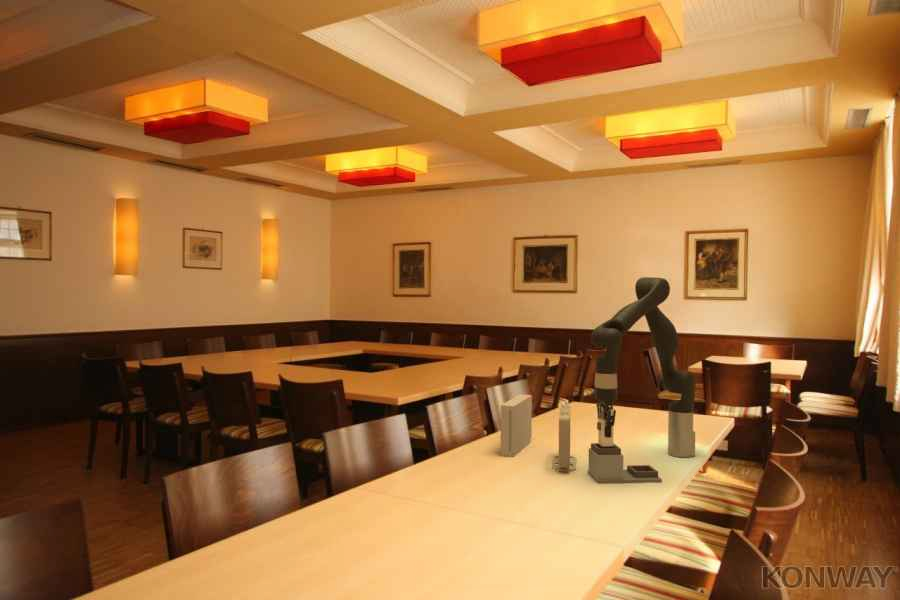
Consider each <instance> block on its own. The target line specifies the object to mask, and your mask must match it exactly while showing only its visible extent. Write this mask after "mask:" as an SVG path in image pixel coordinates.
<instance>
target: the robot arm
mask: <svg viewBox="0 0 900 600" xmlns="http://www.w3.org/2000/svg"><path fill="white" fill-rule="evenodd" d="M634 288H635V289H634V290H635V295H636V298H637V300H635V301H633V302H632V303H629V304H627V305H625V306H624V307H622V308H620V309H619V310H618V311H617V312H616V313H615V314H614V315H613V316H612V317H611V318H610V319H608V320H606V321H604V322H603V323H601V324H599V325H598V326H596V327H595V328H594V329H593V331H592V332H591V336H590V342H591V344H592V345H593V346H594V347H595V348H598V349H605V352H604V354H602V355H598V356H596V359H595V377H594V399H595V400H597V401H599V402H596V408H597V410H596V411H597V419H598V418H603V420H604V425H605V437H606V438H610V437H611V428H612V427H611V426H614V427H615V420H616V414H617V413H616V412H617V411H616V409H614V405H613V402H615V401H617V400H618V373H617V370H618V368H617V366H618V364H617V363H618V360H619V359H618V358H619V355H620V351H621V348H622V344H623V336H622V335H625V334H626V333H627V332H628V331H629V330H631V329H632V327H633V326H634V325H635V324H636V323H637V322H638V321H639V320H641V318H643V317H644V318H645V320H646V323H647V326H648V329H649V332H650V336H651V340H652V342H653V345H654V348H655V351H656V354H657V358H658V361H659V367H660V370H661V371H660V372H661V376H662V381H663V385H664V388H665V389H666V391H667V392H668V393H672V394H678V395H681V396H680V399H679V400H676V401H675V400H674V401H671V402H669V403H668V405H667V406H668V414H667V415H668V416H667V417H668V418H667V419H668V420H667V422H668V424H667V425H668V427H667V428H668V429H667V430H668V431H667V435H668V436H667V437H668V438H667V454H668V455H670V456H672V457H676V458H691V457H695V456H696V431H694V407H695V398H696V385H697V384H696V381H697V380H696V375H695V374H694V372H692V371H690V370H680V369H676V368H675V366H674V357H675V355H676V353H677V351H678V348H679V346H680V340H679V336H678V332H677V329H676V327H675V325H674V323H672V321H671V320H670V319H669V318H668V317H667V316H666V315H665V314H664V313H663V312H662V311H661V309H660V307H659V305H661V304H662V303H664V302H666V300H667V299H668V297H669V295H670V292H671V287H670V282H669V281H668V280H667V279H665V278H663V277H662V278H661V277H652V276H651V277H649V276H648V277H647V276H646V277H640V278H638V279H637V281H636V283H635V287H634ZM609 420H610V422H609Z"/></svg>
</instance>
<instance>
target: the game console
mask: <svg viewBox="0 0 900 600" xmlns="http://www.w3.org/2000/svg"><path fill="white" fill-rule="evenodd" d="M532 400H533V398H532V395H531V394H521V393H520V394H517V395H516V396H514V397H512V398H511V399H510V400H508V401H506V402H504V403H502V404H500V456H502V457H508V456H509V458H514V457H515V456H517V455H518V454H519V453H520V452H521V451H522V450H523V449H525V448H526V447H527V446H528V445H529V444H530V443H531V440H532V434H533V433H532V416H533V414H532V412H533V411H532V410H533V408H532V407H533V405H532V403H533V401H532ZM525 446H526V447H525ZM517 453H518V454H517ZM516 454H517V455H516Z"/></svg>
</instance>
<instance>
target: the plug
mask: <svg viewBox="0 0 900 600" xmlns="http://www.w3.org/2000/svg"><path fill="white" fill-rule="evenodd" d="M597 420H598V421H596V429H597V434H598V436H597V438H598V441H597V443H598V444H600V445H601V446H613V443H614V427H615V425H614V426H611V427H612V428H611V437H610V438H606V437H605V425H604V420H603V418H598V417H597ZM609 422H610V420H609Z"/></svg>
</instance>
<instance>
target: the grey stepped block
mask: <svg viewBox="0 0 900 600" xmlns="http://www.w3.org/2000/svg"><path fill="white" fill-rule="evenodd" d="M587 474H588V475H589V476H590V477H591V479H593V481H595V482H596V483H597V484H637V483H640V484H641V483H645V482H653V483H663V479H662V478H661V477H660V476H659V471H658V470H656V469H655V468H654V467H653V466H651V465H650V464H648V465H647V464H645V465H644V464H642V465H641V464H639V465H637V464H636V465H629V464H628V465H627V466H626V469H624V454H622V448H621V447H619V446H618V445H617V444H615V443H614V442H613V446H601V445H600V444H598V442H596V443H595V442H591V443H590V448H588V470H587Z"/></svg>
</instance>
